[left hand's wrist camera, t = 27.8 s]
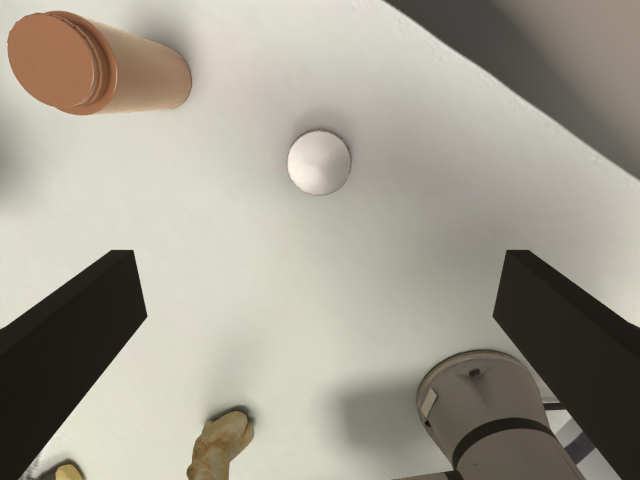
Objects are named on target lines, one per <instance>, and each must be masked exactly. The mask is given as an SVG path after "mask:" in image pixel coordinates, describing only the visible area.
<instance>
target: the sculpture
mask: <svg viewBox="0 0 640 480" xmlns="http://www.w3.org/2000/svg"><path fill="white" fill-rule="evenodd" d="M253 437H254V428H253V425H252V424H251V423H250V422H247V416H246V415H245V414H244V413H242V412H240V411H234V412H230V413H228V414H226V415H224V416H222V417H221V418H219V419H218V420H216V421H215V422H213V421H212V420H210V421H208V422H207V423H206V424H205V426H204V428H203V431H202V434H201V435H200V436H199V437H198V438H197V439H196V441H195V445H194V448H193V455H192V464H191V465H190V466H189V467H188V469H187V477H188V479H189V480H229V464H230V462H231V461H232V460H233V459H234V458H235V457H236V456H237V455H238V454H239V453H240V452H242V451H243V450H244V449H245V448H246V447H247V446H248V445H249V443H250V442H251V441H252V439H253Z"/></svg>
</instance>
